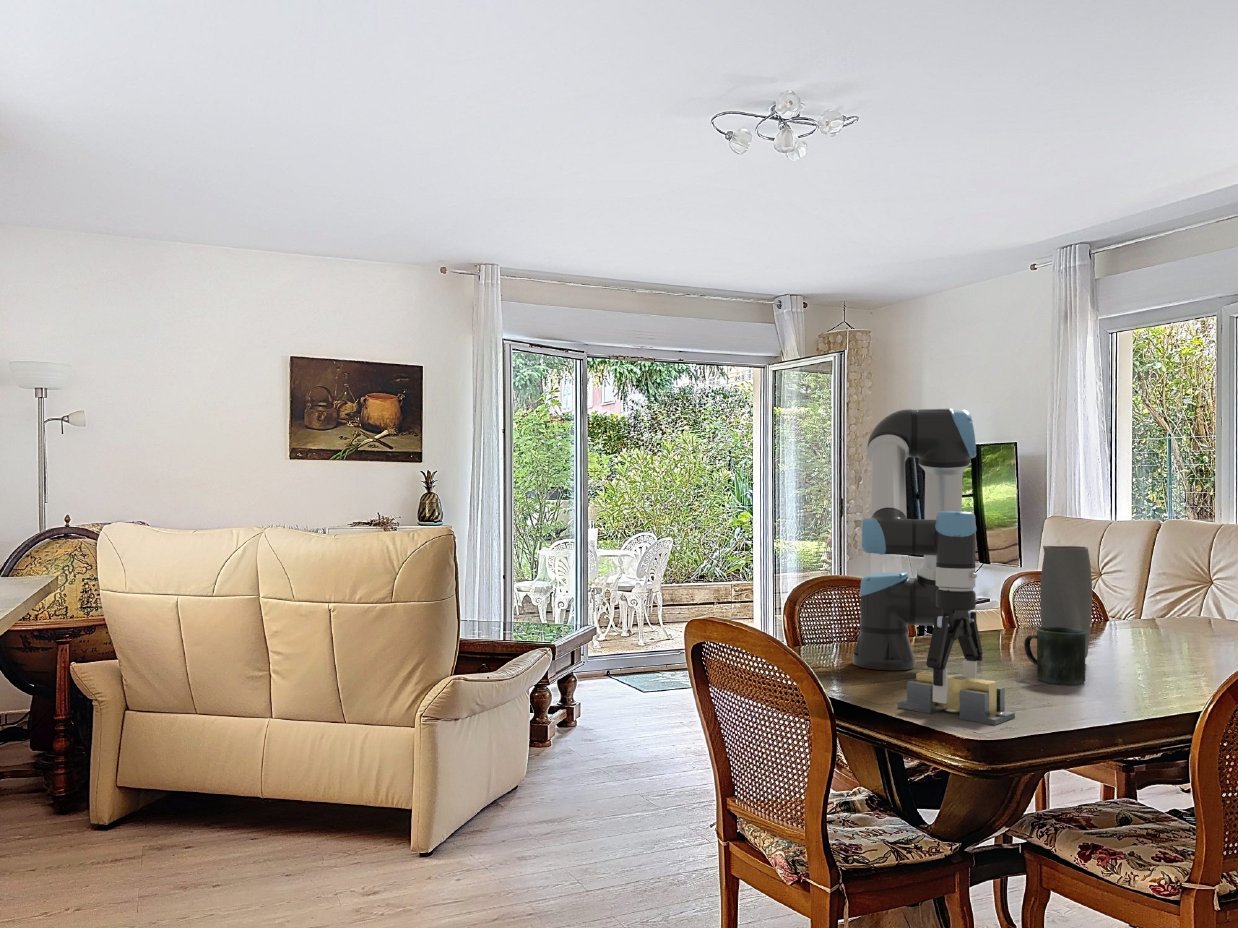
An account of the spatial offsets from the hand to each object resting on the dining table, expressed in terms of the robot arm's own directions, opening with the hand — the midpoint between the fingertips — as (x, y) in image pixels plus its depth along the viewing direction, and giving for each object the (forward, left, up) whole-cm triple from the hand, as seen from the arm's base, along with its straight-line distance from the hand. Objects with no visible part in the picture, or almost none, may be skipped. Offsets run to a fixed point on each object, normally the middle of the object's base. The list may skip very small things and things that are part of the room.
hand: (955, 697), depth 194 cm
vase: (-6, +77, -3) cm, 77 cm away
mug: (0, +50, -3) cm, 50 cm away
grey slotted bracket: (-6, 0, -3) cm, 6 cm away
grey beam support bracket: (+6, 0, -3) cm, 6 cm away
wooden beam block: (0, 0, -2) cm, 2 cm away
